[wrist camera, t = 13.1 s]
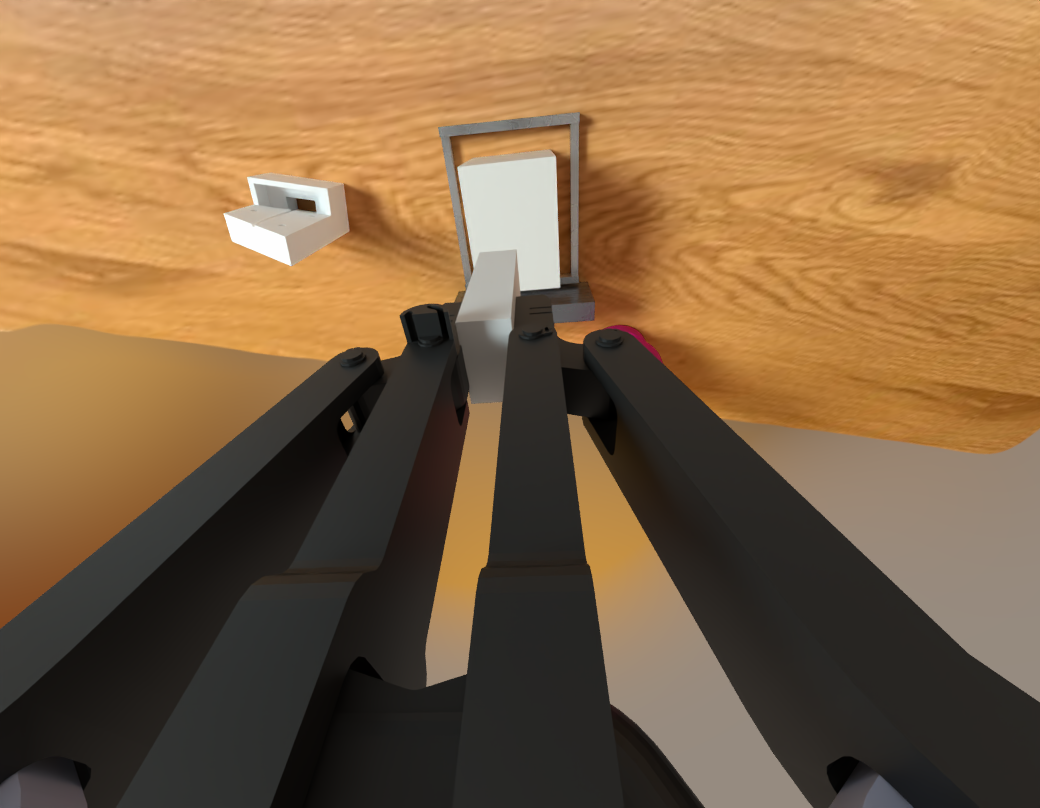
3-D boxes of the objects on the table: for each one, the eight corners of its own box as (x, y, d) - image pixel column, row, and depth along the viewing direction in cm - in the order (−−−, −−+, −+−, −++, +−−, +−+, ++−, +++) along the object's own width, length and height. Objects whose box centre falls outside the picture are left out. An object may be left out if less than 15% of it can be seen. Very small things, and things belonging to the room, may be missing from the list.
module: (472, 157, 30) (457, 167, 23) (549, 149, 29) (555, 156, 23) (487, 264, 35) (478, 296, 28) (554, 258, 34) (560, 289, 28)
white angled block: (392, 245, 31) (291, 266, 25) (312, 218, 35) (205, 230, 28) (389, 196, 29) (278, 204, 23) (303, 172, 33) (186, 173, 26)
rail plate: (428, 128, 29) (412, 128, 25) (590, 111, 28) (600, 108, 24) (461, 307, 37) (453, 330, 33) (586, 298, 36) (594, 320, 32)
